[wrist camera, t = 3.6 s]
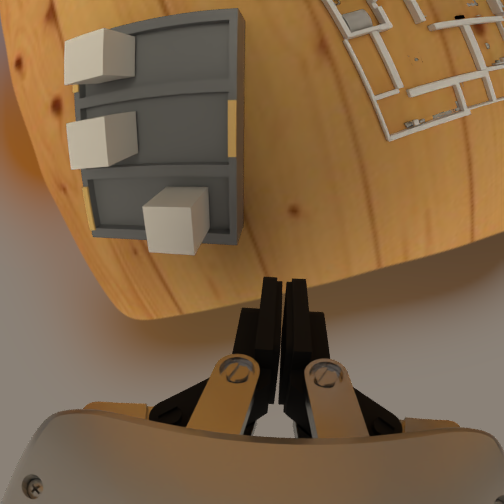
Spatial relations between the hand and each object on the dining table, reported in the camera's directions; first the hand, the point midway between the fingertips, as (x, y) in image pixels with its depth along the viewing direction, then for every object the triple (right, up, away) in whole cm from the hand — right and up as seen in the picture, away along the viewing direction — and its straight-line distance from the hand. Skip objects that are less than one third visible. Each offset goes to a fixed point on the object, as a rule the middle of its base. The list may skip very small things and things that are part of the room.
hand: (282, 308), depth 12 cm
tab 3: (-6, +5, +9) cm, 12 cm away
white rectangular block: (-10, +15, +4) cm, 19 cm away
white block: (-11, +11, +6) cm, 16 cm away
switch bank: (-8, +12, +9) cm, 16 cm away
